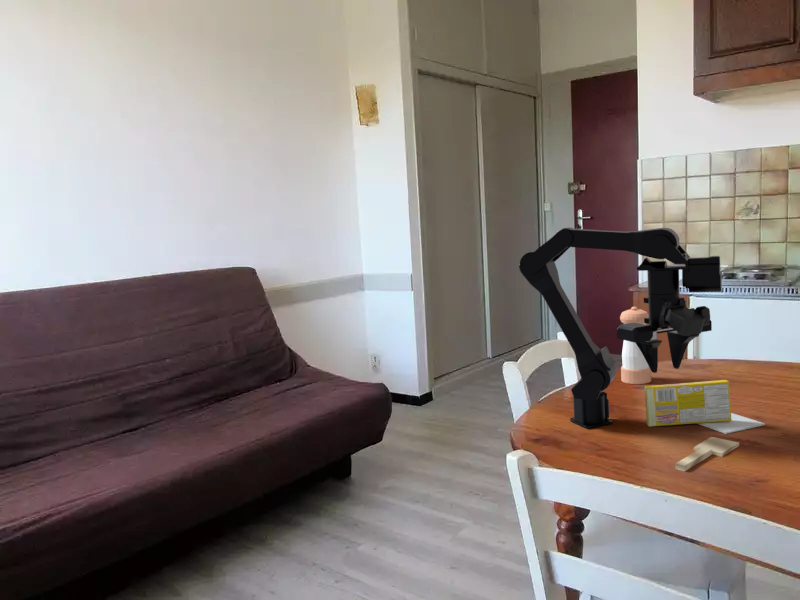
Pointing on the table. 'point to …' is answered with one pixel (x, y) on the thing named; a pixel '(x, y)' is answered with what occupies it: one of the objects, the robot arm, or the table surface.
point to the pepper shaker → (634, 352)
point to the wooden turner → (706, 452)
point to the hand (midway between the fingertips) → (665, 370)
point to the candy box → (687, 403)
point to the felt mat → (733, 424)
